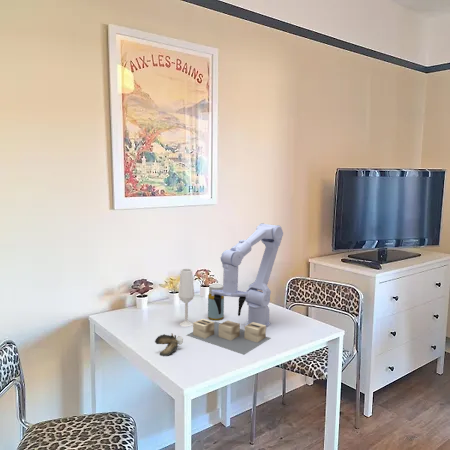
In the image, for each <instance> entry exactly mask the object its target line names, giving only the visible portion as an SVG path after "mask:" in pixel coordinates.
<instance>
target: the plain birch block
mask: <svg viewBox="0 0 450 450" xmlns="http://www.w3.org/2000/svg"><path fill="white" fill-rule="evenodd" d="M220 323H221V324H219V337H221V338H224V339H227V340H233V339H235V338H236V337H238V336H240V329H241V324H240V323H239V322H236V321H235V322H234V321H232V320H228V319H227V320H226V321H223V322H220Z"/></svg>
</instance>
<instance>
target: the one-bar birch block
mask: <svg viewBox="0 0 450 450" xmlns="http://www.w3.org/2000/svg"><path fill="white" fill-rule="evenodd" d="M244 330H245V337H244V339H248V340H251V341H254V342H259V341H261V340H262V339H264V338H266V337H267V336H266V335H267V334H266V332H267V326H266V325H262V324H259V323H255V322H252V323H250V324H248V325H246V326H244Z"/></svg>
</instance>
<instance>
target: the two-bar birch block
mask: <svg viewBox="0 0 450 450" xmlns="http://www.w3.org/2000/svg"><path fill="white" fill-rule="evenodd" d="M214 322H215V321H213V320H210V319H206V318H201V319H199V320H196V321H194V322H192V323H193V325H192V326H193V327H192V332H193V335H195V336H198V337H201V338H204V339H205V338H207V337H209V336H211V335H213V334H214Z"/></svg>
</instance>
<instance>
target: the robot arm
mask: <svg viewBox="0 0 450 450" xmlns="http://www.w3.org/2000/svg"><path fill="white" fill-rule="evenodd" d="M283 236H284V231H283V228H282V226H281V225H274V224H269V223H268V224H267V223H264V222H263V223H260V224H258V225H257V226H256V228H255V231H254V232H253V233H251V235H249V236H248V237H247V239H240V240H238V242H237V243H236V244H235V245H233V246H232V247H231V248H230V249H226V250H224V251H223V252H222V254H221V256H220V262H221V265H222V266H221V267H222V269H223V277H222V278H223V279H222V280H223V281H222V283H223V284H222V285H223V290H212V295H211V296H214V300H215V302H216V305H217V308H218V312H219V314H221V298H222V296H224V297H229V298H230V297H232V298H238V312H237V316H238V317H240V316H241V312H242V308H243V306H244V304H245V303H247V304H246V305H247V306H248V317H247V322H246V323H245V324H244V325H243V326H244V327H245V326H246V325H248V324H250V323H252V322H255V323H259V324H262V325H266V327H268V326H269V325H272V323H271V322H270V307H269V304H270V302H271V301H270V300H271V294H272V291H271V289H270V287H269V286H268V284H269V280H270V277H271V274H272V270H273V267H274V264H275V260H276V256H277V253H278V251H279V247H280V246H281V242H282V239H283ZM259 242H261V243H263V245H264V246H265V247H264V248H265V249H264V250H263V251H264V252H263V255H262V259H261V262H260V265H259V267H258V271H257V274H256V277H255V281H254V282H252V283H250V284H249V285H248V288H247V290H246V291H244V290H243V291H242V290H239V289H238V288H239V287H238V286H239V285H238V284H239V266H240V265H241V264H242V261H243V259H244V257H245V256H247V255H248V254H249V253H250V252H251V251H252V247H253V246H254V245H256V244H258V243H259Z"/></svg>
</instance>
